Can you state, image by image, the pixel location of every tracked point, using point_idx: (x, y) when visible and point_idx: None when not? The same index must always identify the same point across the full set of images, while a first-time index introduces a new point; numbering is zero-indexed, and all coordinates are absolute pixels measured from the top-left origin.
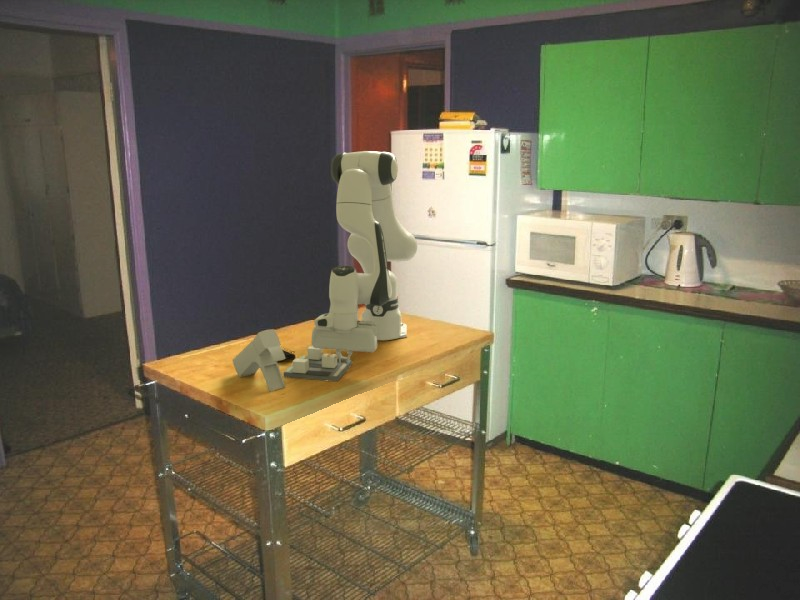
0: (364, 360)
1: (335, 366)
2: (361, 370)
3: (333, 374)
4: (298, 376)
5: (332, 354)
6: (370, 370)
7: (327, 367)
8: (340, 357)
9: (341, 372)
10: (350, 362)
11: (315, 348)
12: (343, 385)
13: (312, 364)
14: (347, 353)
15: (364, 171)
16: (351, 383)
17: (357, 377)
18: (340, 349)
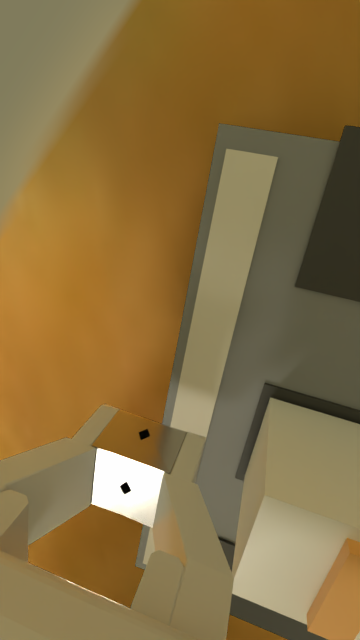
0: (85, 576)
1: (259, 433)
2: (66, 417)
3: (273, 211)
4: None
5: (297, 610)
6: (11, 410)
7: (353, 423)
8: (169, 483)
9: (187, 295)
10: (142, 529)
11: None
12: (149, 9)
13: None
14: (26, 499)
15: None
16: (81, 95)
17: (63, 269)
18: (91, 601)
